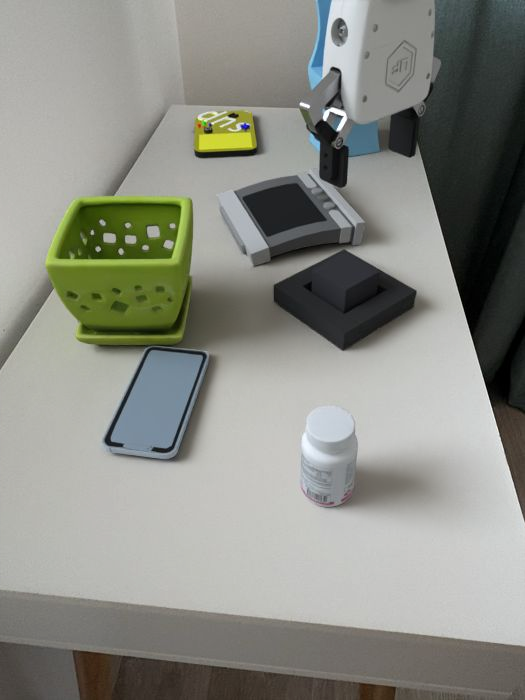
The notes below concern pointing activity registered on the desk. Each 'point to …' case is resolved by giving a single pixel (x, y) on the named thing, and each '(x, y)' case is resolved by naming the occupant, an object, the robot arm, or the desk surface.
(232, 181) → the desk surface
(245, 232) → the alarm clock
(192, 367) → the smartphone
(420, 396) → the desk surface
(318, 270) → the dark grey square block
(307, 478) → the pill bottle
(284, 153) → the desk surface
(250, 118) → the game console
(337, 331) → the base pad
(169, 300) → the flower pot
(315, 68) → the vase
